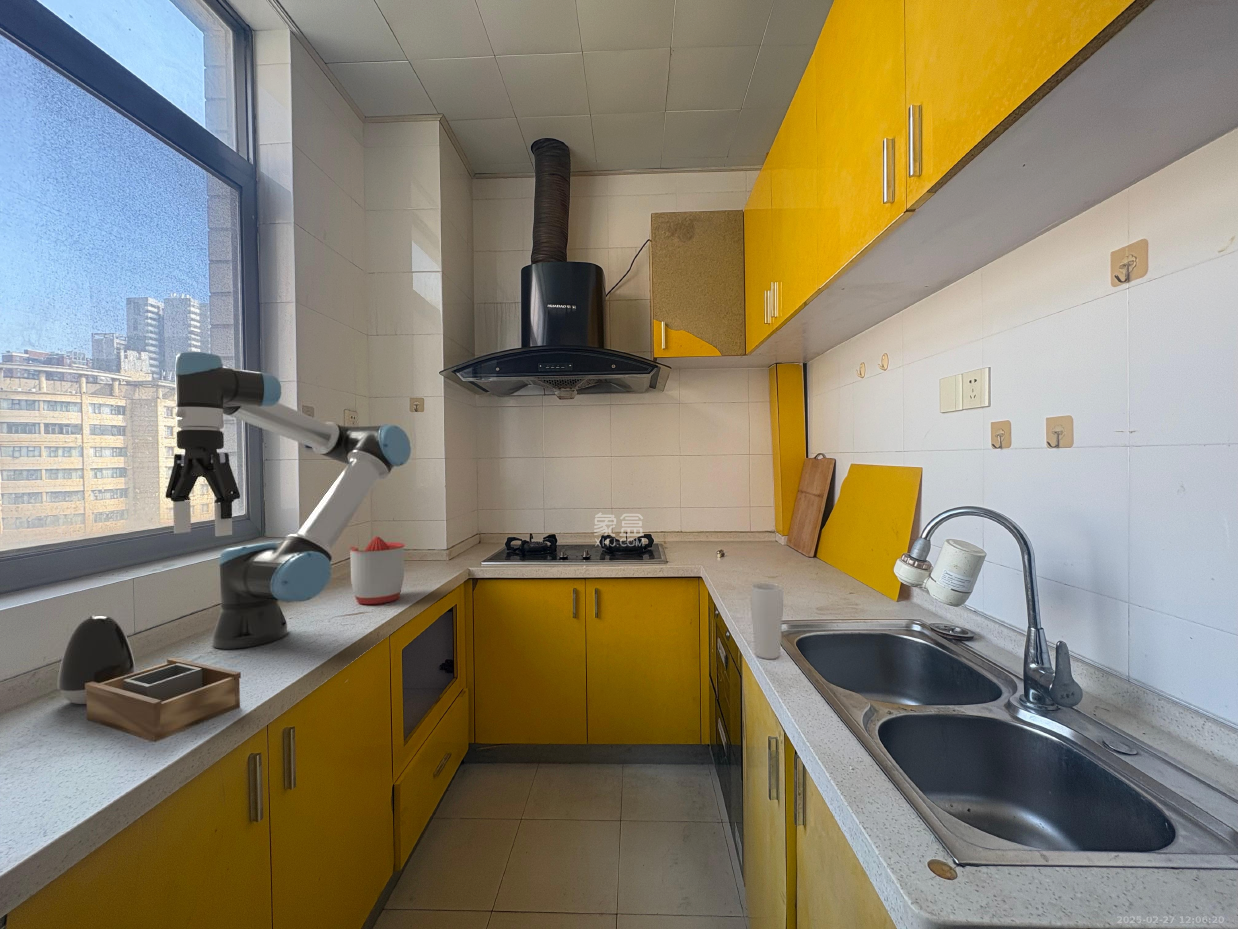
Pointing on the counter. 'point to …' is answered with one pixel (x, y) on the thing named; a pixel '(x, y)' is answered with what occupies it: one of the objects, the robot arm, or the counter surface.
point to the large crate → (163, 703)
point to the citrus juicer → (377, 571)
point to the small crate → (166, 682)
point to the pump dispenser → (94, 657)
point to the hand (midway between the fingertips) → (202, 534)
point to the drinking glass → (767, 618)
